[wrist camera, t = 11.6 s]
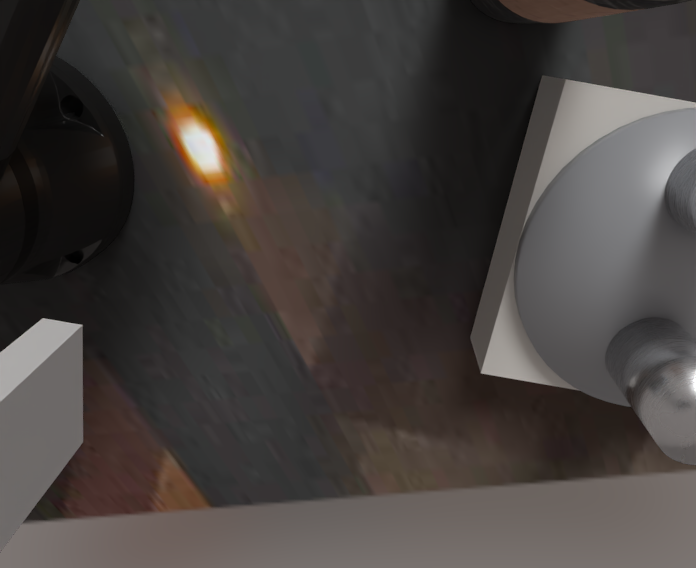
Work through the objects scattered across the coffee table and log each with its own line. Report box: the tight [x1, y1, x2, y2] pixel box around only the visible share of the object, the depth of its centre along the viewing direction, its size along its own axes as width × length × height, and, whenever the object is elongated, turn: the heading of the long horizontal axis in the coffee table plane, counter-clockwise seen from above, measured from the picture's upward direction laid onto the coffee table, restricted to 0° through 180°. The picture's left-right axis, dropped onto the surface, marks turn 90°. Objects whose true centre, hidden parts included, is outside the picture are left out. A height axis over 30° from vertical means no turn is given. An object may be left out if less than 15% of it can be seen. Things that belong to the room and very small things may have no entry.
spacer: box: [605, 317, 696, 465], centre depth 32 cm, size 5×5×7 cm
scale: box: [470, 75, 696, 407], centre depth 37 cm, size 20×18×6 cm
